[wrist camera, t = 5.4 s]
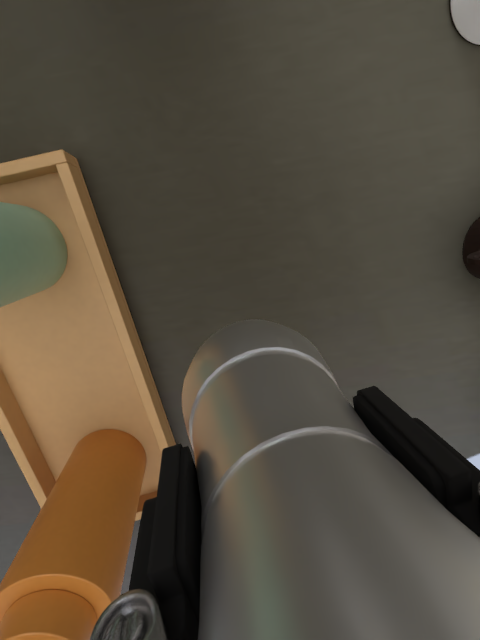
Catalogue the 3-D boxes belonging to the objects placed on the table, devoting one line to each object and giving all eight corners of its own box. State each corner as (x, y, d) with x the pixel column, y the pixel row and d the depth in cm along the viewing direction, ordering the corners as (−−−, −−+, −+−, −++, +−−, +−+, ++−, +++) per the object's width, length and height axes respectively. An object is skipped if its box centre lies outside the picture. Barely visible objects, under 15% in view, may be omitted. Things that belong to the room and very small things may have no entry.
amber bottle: (60, 441, 29) (-220, 884, 9) (133, 420, 29) (13, 800, 10) (87, 499, 31) (-101, 974, 11) (155, 478, 31) (92, 901, 11)
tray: (-88, 195, 24) (-123, 191, 21) (76, 157, 24) (62, 148, 22) (70, 518, 32) (59, 544, 29) (189, 482, 33) (189, 504, 30)
